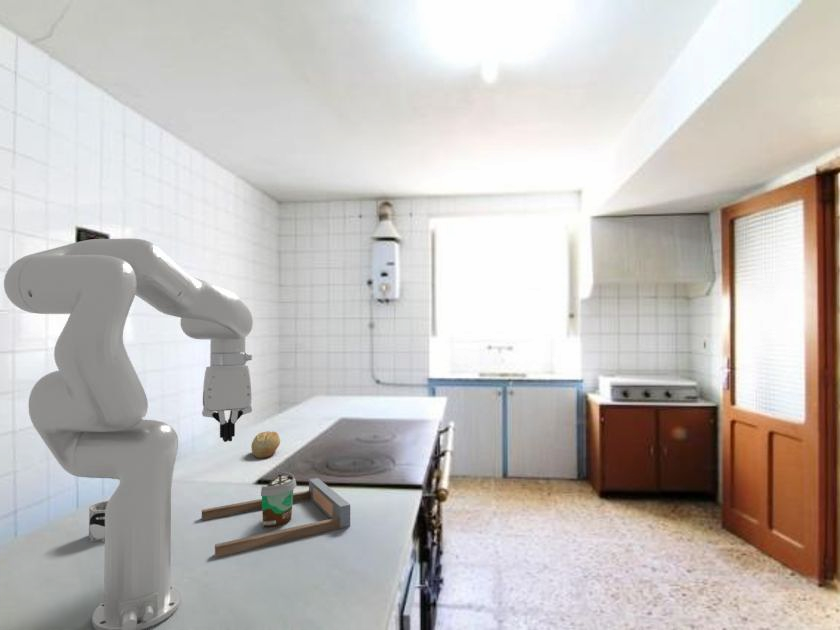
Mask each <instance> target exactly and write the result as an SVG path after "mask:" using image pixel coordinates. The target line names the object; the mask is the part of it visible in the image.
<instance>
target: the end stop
mask: <svg viewBox="0 0 840 630" xmlns="http://www.w3.org/2000/svg"><path fill="white" fill-rule="evenodd" d="M308 490H309V491H310V492H311V499H310V501H312V502H313V503H314V505H316V506H317V507H318V508H319V509H320V510H321V511H322V512H323V513H324V515H326V516H327V517H328V518H329V519H333V518H337V517H338V518H339V519H340V528H339V529H343V528H347V527H350V526H351V504H350V503H349V502H348V501H347V500H346V499H344V498H343V497H342V496H340V495H339V494H338V493H337V492H336V491H334V490H333V489H332V488H331V487H330V486H328V485H327V483H326V482H323V481H322V480H321V479H320V478H319V477H315V478H308Z"/></svg>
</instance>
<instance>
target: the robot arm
mask: <svg viewBox="0 0 840 630" xmlns="http://www.w3.org/2000/svg"><path fill="white" fill-rule="evenodd" d="M3 287H4V292H5V294H6V297H7V298H8V299H9V301H10V302H11V303H12V304H13V305H14V306H15V307H16V308H18V309H20V310H22V311H25V312H28V313H31V314H39V315H50V314H51V315H54V314H55V315H57V314H58V315H62V314H64V315H65V314H66V315H69V316H68V318H67V320H66V323H65V324H64V327H63V328H62V331H60V334H59V336H58V338H57V340H56V343H55V346H54V352H53V353H54V354H53V355H54V362H55V364H56V367H57V369H58V370H54V371H51V372H49V373H47V374H45V375H44V376H42V377H41V378H40V379H38V380H37V381H36V383H35V384H34V386H33V387H32V388H31V391H30V394H29V398H28V414H29V419H30V421H31V423H32V426H34V427H33V428H35V431H36V432H37V433H38V435H39V436H40V437H41V439H42V441H43V443H44V444H45V445H46V446H47V448H48V450H49V451H50V452H51V454H52V455H53V457H54V458H55V460H56V461H57V463H58V464H59V465H60V467H61V468H62V469H63V470H64V471H65V472H67V473H68V474H70V475H72V476H73V477H78V478H89V479H91V478H92V479H111V480H112V479H113V480H118V481H119V485H118V486H117V488H116V489H115V491H114V492H113V493H112V495H111V497H110V498H109V499H108V500H107V501H108V503H107V506H106V510H105V541H104V566H103V567H104V572H103V573H104V579H103V581H104V582H103V584H104V585H103V587H104V588H103V591H104V592H103V594H104V595H103V602H102V603H100V605H98V607H96V608H95V610H94V611H93V614H92V618H91V620H92V621H91V622H92V627H93V628H94V630H146V629H148V628H151V627H153V626H155V625H157V624H159V623H161V622H163V621H165V620H166V619H168V618H169V617H170V616H171V615H173V613H175V612H176V611H177V609H178V608H179V606H180V603H181V592H180V591H179V589H178V588H176V587H174V586H173V585H171V561H172V560H171V547H172V545H171V544H172V543H171V540H172V539H171V537H172V534H171V533H172V528H171V527H172V486H173V485H172V484H173V477H174V471H175V465H176V460H177V456H178V450H179V437H178V434H177V432H176V430H175V429H174V428H173V426H171V425H170V424H169V423H166V422H164V421H163V422H162V421H159V420H155V419H145V417H146V415H147V413H148V408H149V404H148V403H149V402H148V397H147V394H146V391H145V389H144V387H143V385H142V382H141V381H140V377H139V376H138V374H137V371H136V369H135V367H134V366H133V365H134V364H133V363H132V361H131V359H130V356H129V355H128V352H127V350H126V347H125V344H124V338H123V337H124V329H125V325H126V322H127V318H128V316H129V313H130V310H131V307H132V305H133V302H134V299H135V297H138V298H140V299H141V300H143V301H144V302H145V303H147V304H148V305H149V306H151V307H152V308H154V309H155V310H156V311H159V312H160V313H163V314H164V315H167V316H172V317H175V318H176V317H177V318H180V321H179V322H180V323H179V324H180V329H181V330H182V332H183V333H184V334H185V335H186V336H187V337H189V338H191V339H194V340H209V341H210V349H209V351H210V353H209V355H210V356H209V361H210V362H209V366H206V368H205V370H204V379H203V386H202V387H203V389H202V406H203V409H202V412H201V415H202V417H206V418H214V420H215V421H217V422H218V423H219V438H221V439H222V441H223V442H225V443H226V442H227V443H228V442H232V441H233V437H235V436H236V435H235V434H236V432H235V431H236V426H235V425H236V424H235V423H237V421H238V420H239V419H240V418H241V417H242V416H243V415H244V416H245V415H247V414H250V413H252V412H253V409H252V387H251V386H252V385H251V384H252V383H251V374H250V368H249V365H246V364H247V362H249V361H252V359H253V355H252V354H248V353H247V352H246V337H248V336H249V334H251V331H252V329H253V325H254V321H253V315H252V313H251V311H250V309H249V307H248V306H247V304H246V303H245V302H244V301H243V300H242V299H241V298H240V297H239V296H237V295H236V294H235V293H233V292H231V291H230V290H227V289H225V288H223V287H220V286H218V285H214V284H212V283H210V282H208V281H205V280H203V279H199V278H196V277H193V276H191V275H190V274H189V273H187V271H185V270H184V269H183V268H182V267H181V266H179V265H178V264H177V263H176V262H175V261H174V260H173V259H172V258H171V257H170V256H168V255H167V254H166V253H165V252H164V251H163V250H161V248H160V247H158V245H156V244H154V243H153V242H150V241H148V240H146V239H142V238H141V239H140V238H94V239H92V238H91V239H87V240H86V239H85V240H82V241H77V242H73V243H69V244H65V245H62V246H58V247H55V248H50V249H47V250H42V251H39V252H38V251H37V252H34V253H30V254H28V255H25V256H23V257H21V258H19V259H17V260H15V262H13V263H12V264H11V265H10V266H9V268H8V269H7V271H6V273H5V274H4V279H3ZM225 411H230V412H229V417H228V419H227V420H226V415H225V414H226V413H225Z"/></svg>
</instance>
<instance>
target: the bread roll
mask: <svg viewBox="0 0 840 630" xmlns="http://www.w3.org/2000/svg"><path fill="white" fill-rule="evenodd" d="M280 444H281V439H280V435H279V434H278V432H276V431H274V430H273V431H267V430H266V431H261V432H259V433H258V434H257V435H256V436H254V438H253V440H252V442H251V452H252V454H253V456H254V457H255V458H257V459H264V458H268V457H270V456H272V455H273V454H274V453H275V452H276V451H277V449H278V447H280Z"/></svg>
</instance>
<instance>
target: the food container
mask: <svg viewBox="0 0 840 630" xmlns="http://www.w3.org/2000/svg"><path fill="white" fill-rule="evenodd" d="M277 473H278V474H277V475H278V476H276V478H274V479H272V480H271V481H269V483H268V484H267V485H266V486H261V490H260V497H261V499H262V509H261V510H262V511H261V512H262V529H272V528H274V529H275V528H278V527H281V526H284V525H286V524H288V523H289V522H291V520H292V511H293V503H292V502H293V493H294V490H295V488H296V487H297V481H296V478H295V475H294V474H292V473H290V472H286V471H278V472H277Z"/></svg>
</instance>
